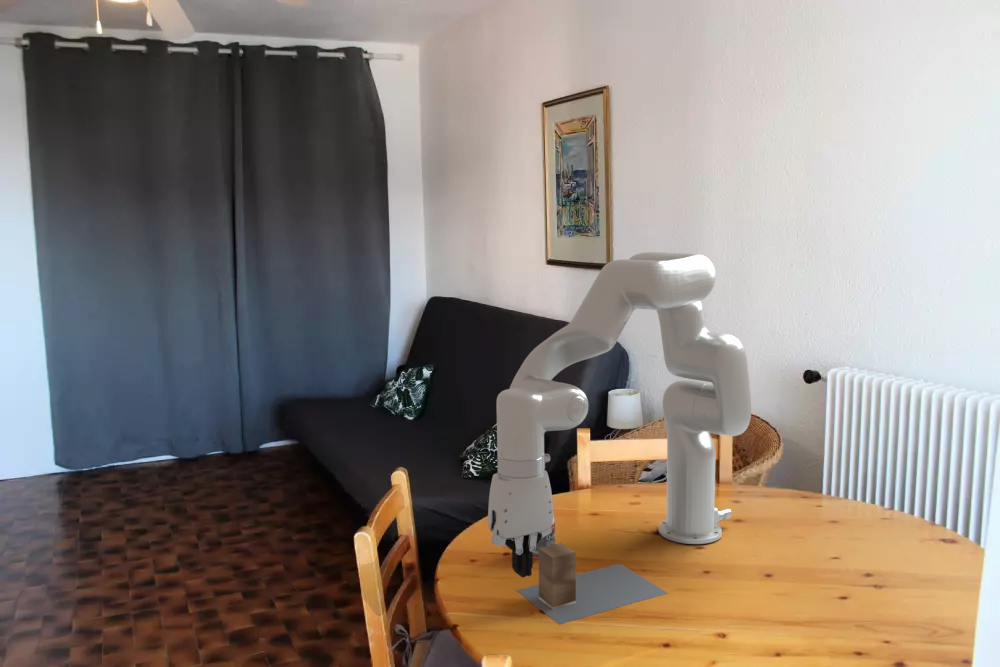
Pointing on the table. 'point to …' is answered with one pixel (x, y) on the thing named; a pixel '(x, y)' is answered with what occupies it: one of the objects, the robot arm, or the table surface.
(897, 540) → the table surface
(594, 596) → the mat
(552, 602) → the block
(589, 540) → the table surface
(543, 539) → the pill bottle
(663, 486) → the table surface
